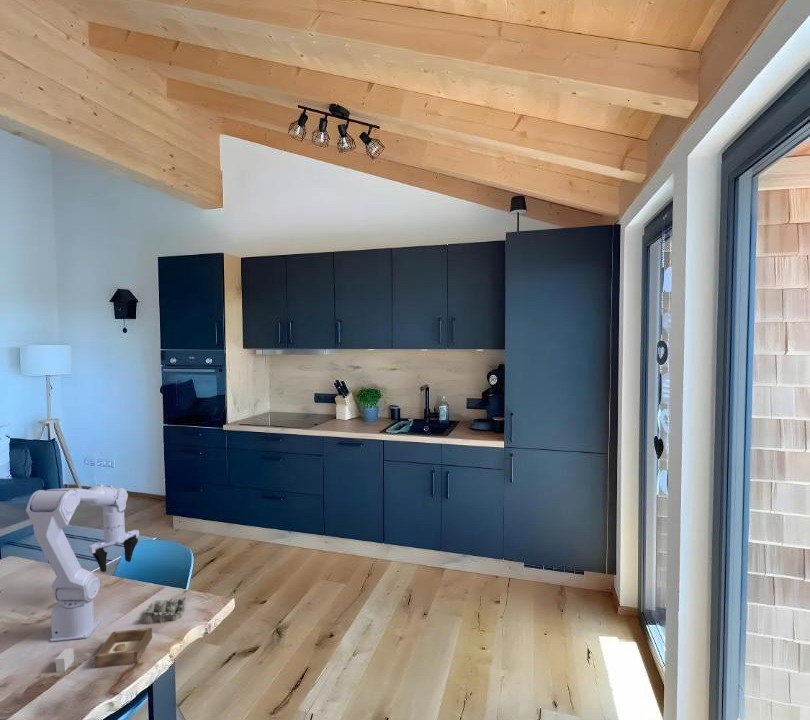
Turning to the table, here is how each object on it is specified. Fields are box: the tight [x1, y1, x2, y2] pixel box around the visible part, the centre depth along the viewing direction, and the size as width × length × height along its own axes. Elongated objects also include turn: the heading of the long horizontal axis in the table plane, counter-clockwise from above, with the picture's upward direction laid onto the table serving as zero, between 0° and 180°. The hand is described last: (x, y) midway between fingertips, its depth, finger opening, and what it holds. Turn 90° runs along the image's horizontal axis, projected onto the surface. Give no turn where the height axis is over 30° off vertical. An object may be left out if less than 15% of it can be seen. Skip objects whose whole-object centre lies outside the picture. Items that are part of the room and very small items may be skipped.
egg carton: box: [143, 596, 186, 625], centre depth 140 cm, size 11×8×4 cm
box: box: [94, 627, 153, 669], centre depth 124 cm, size 10×10×3 cm
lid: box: [55, 647, 75, 673], centre depth 119 cm, size 11×11×4 cm
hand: (115, 566), depth 150 cm, fingers open, 7 cm apart
